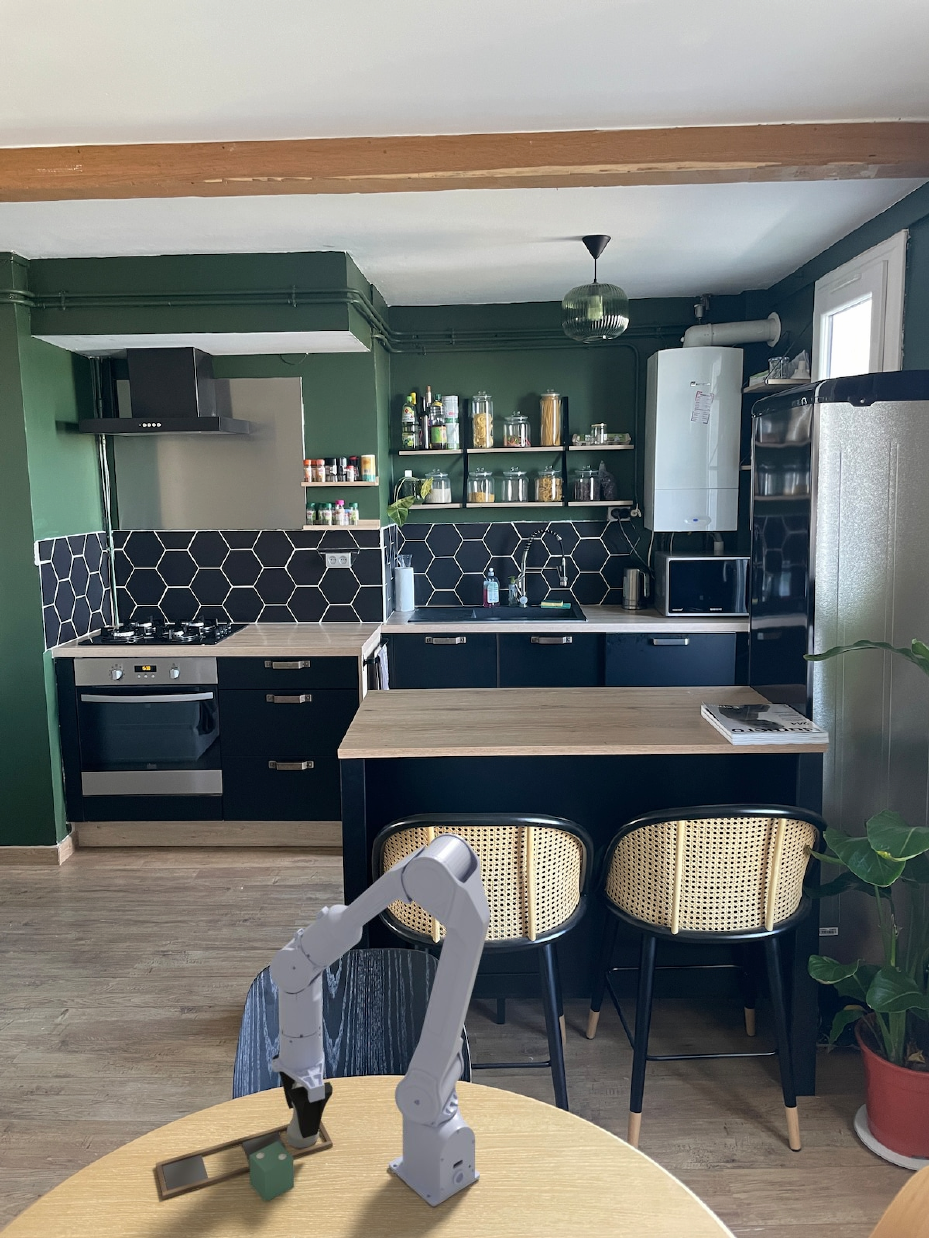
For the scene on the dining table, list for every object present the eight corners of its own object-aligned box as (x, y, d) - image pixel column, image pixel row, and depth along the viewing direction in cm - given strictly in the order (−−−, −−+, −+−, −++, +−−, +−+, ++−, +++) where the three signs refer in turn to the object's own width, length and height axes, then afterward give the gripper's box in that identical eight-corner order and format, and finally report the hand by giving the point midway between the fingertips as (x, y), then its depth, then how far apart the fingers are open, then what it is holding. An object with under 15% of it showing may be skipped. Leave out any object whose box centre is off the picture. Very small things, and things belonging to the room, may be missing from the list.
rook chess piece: (323, 1129, 127) (322, 1075, 126) (314, 1151, 123) (313, 1095, 122) (291, 1127, 127) (290, 1073, 126) (282, 1149, 123) (280, 1093, 122)
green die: (293, 1186, 116) (293, 1156, 116) (265, 1201, 114) (265, 1171, 113) (278, 1169, 119) (277, 1140, 119) (250, 1184, 116) (249, 1154, 116)
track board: (318, 1118, 129) (318, 1114, 129) (332, 1146, 124) (332, 1142, 123) (155, 1166, 120) (155, 1162, 120) (163, 1199, 114) (162, 1195, 114)
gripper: (258, 1006, 128) (260, 1097, 129) (285, 1062, 115) (287, 1162, 116) (307, 995, 131) (309, 1083, 132) (339, 1048, 118) (340, 1145, 119)
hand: (302, 1119), depth 125 cm, fingers open, 6 cm apart
